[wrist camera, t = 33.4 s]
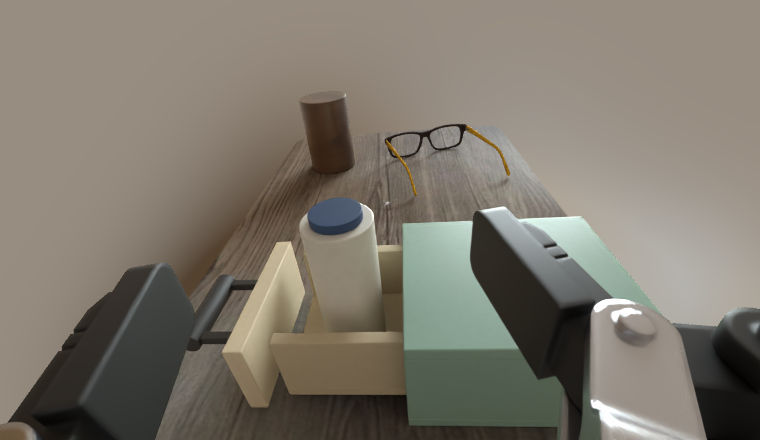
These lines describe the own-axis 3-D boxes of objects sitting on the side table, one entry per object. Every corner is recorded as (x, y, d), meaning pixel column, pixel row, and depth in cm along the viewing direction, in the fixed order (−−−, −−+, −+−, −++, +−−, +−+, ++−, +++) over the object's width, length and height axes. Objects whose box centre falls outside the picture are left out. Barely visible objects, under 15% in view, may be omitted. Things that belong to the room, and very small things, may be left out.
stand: (336, 177, 53) (324, 105, 47) (304, 169, 56) (289, 101, 50) (363, 160, 57) (355, 92, 51) (331, 154, 61) (320, 90, 55)
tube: (332, 364, 23) (298, 240, 17) (324, 316, 27) (294, 200, 21) (393, 346, 24) (381, 222, 18) (377, 302, 28) (363, 187, 22)
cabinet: (408, 426, 21) (403, 351, 17) (406, 292, 31) (402, 223, 27) (638, 428, 20) (691, 348, 16) (561, 288, 30) (582, 215, 26)
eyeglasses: (462, 143, 60) (463, 121, 58) (510, 176, 48) (513, 150, 46) (384, 158, 57) (382, 135, 55) (415, 197, 45) (414, 170, 43)
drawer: (182, 407, 23) (142, 353, 20) (242, 293, 31) (221, 244, 28) (442, 409, 21) (444, 351, 18) (430, 289, 30) (430, 236, 27)
